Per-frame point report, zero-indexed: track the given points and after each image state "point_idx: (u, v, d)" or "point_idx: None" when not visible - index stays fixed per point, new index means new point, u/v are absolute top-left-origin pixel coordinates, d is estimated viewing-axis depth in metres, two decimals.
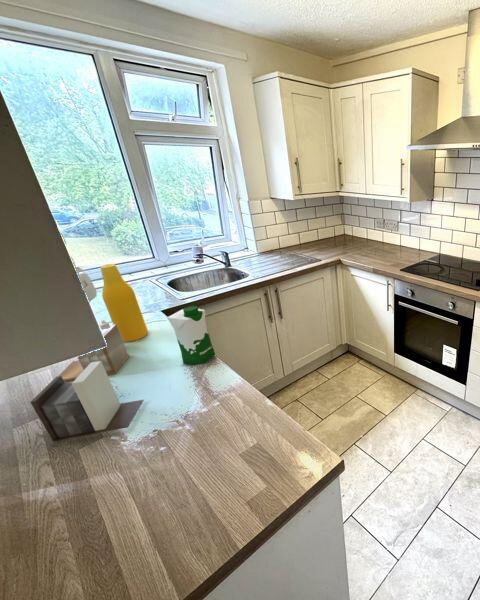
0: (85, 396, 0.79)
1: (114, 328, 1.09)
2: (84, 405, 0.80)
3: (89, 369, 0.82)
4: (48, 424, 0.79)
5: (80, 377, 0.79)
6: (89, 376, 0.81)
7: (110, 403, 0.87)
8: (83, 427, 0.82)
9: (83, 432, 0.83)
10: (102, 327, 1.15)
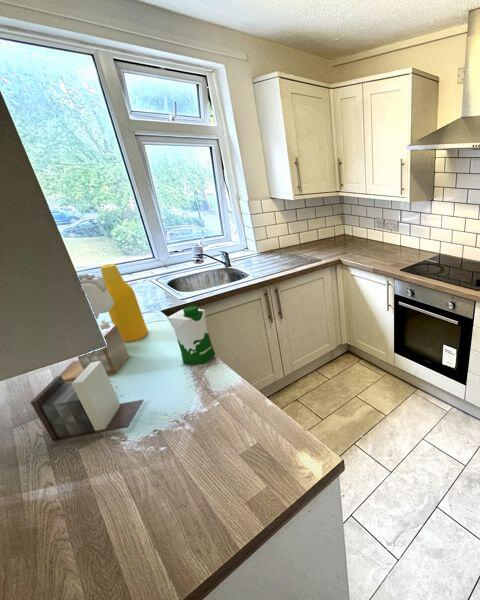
0: (85, 396, 0.79)
1: (114, 328, 1.09)
2: (84, 405, 0.80)
3: (89, 369, 0.82)
4: (48, 424, 0.79)
5: (80, 377, 0.79)
6: (89, 376, 0.81)
7: (110, 403, 0.87)
8: (83, 427, 0.82)
9: (83, 432, 0.83)
10: (102, 327, 1.15)
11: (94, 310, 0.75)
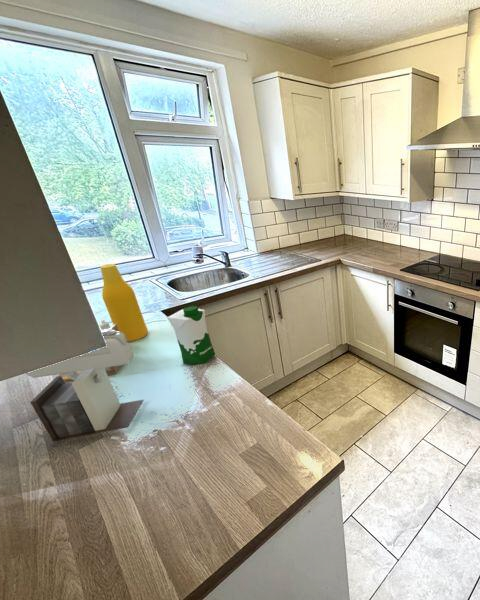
0: (85, 396, 0.79)
1: (114, 328, 1.09)
2: (84, 405, 0.80)
3: None
4: (48, 424, 0.79)
5: (80, 377, 0.79)
6: (89, 376, 0.81)
7: (110, 403, 0.87)
8: (83, 427, 0.82)
9: (83, 432, 0.83)
10: (102, 327, 1.15)
11: (116, 363, 0.81)
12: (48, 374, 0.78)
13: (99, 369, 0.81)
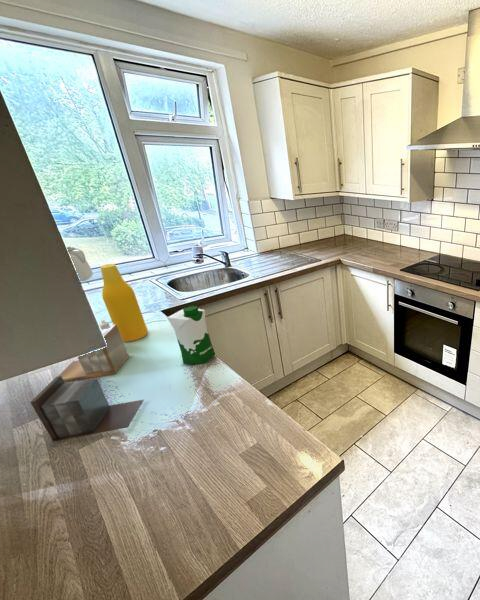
0: None
1: (114, 328, 1.09)
2: None
3: None
4: (48, 424, 0.79)
5: None
6: None
7: None
8: (83, 427, 0.82)
9: (83, 432, 0.83)
10: (102, 327, 1.15)
11: None
12: None
13: None
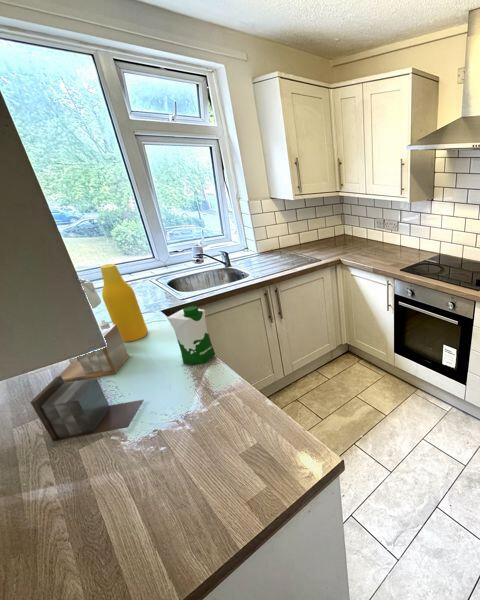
0: None
1: (114, 328, 1.09)
2: None
3: None
4: (48, 424, 0.79)
5: None
6: None
7: None
8: (83, 427, 0.82)
9: (83, 432, 0.83)
10: (102, 327, 1.15)
11: None
12: None
13: None
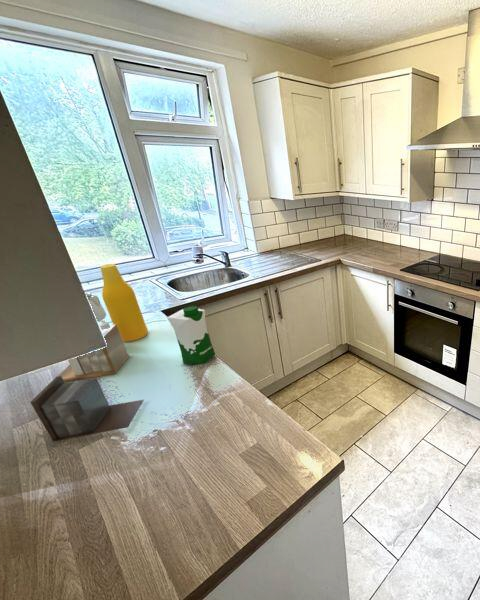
0: None
1: (114, 328, 1.09)
2: None
3: None
4: (48, 424, 0.79)
5: None
6: None
7: None
8: (83, 427, 0.82)
9: (83, 432, 0.83)
10: (102, 327, 1.15)
11: None
12: None
13: None
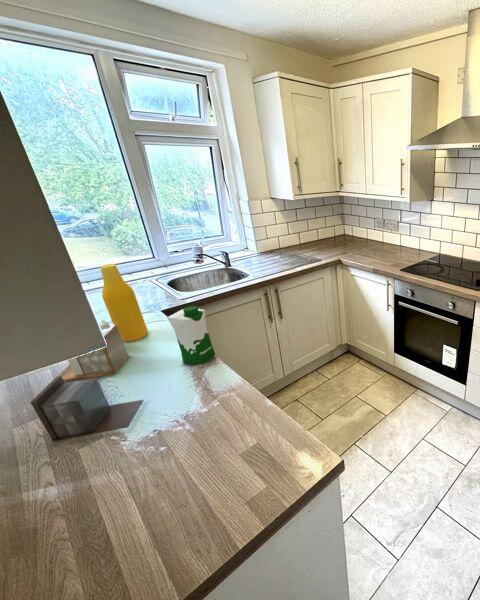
0: None
1: (114, 328, 1.09)
2: None
3: None
4: (48, 424, 0.79)
5: None
6: None
7: None
8: (83, 427, 0.82)
9: (83, 432, 0.83)
10: (102, 327, 1.15)
11: None
12: None
13: None
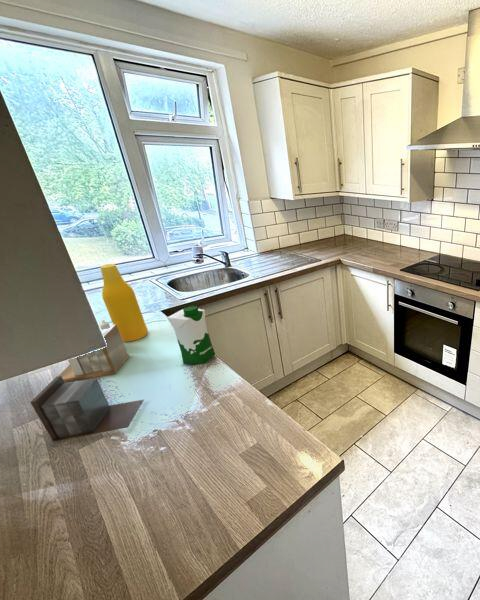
0: None
1: (114, 328, 1.09)
2: None
3: None
4: (48, 424, 0.79)
5: None
6: None
7: None
8: (83, 427, 0.82)
9: (83, 432, 0.83)
10: (102, 327, 1.15)
11: None
12: None
13: None
